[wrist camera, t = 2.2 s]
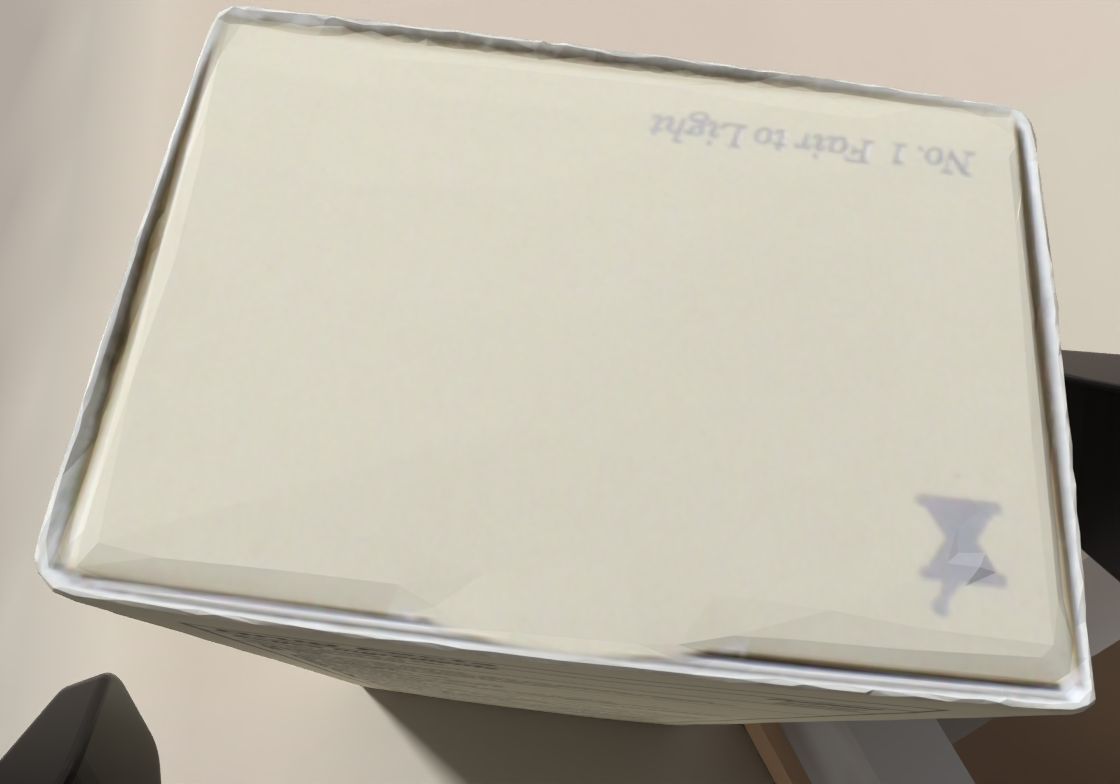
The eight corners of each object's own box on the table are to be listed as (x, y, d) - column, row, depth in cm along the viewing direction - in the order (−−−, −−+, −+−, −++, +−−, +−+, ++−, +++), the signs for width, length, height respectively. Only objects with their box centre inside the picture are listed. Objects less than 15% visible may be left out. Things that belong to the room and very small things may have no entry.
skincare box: (697, 501, 18) (1070, 91, 7) (684, 740, 16) (1150, 734, 5) (381, 460, 18) (211, -37, 6) (335, 698, 16) (-2, 592, 5)
